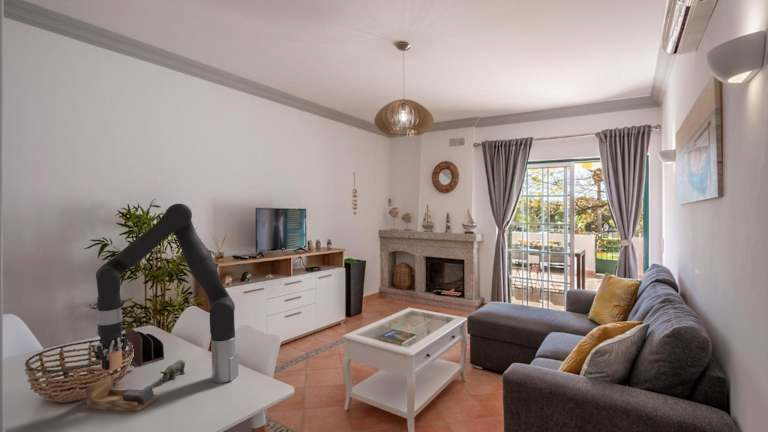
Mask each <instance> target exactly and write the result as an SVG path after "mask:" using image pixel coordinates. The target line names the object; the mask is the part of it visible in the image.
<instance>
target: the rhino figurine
mask: <svg viewBox="0 0 768 432" xmlns="http://www.w3.org/2000/svg"><path fill="white" fill-rule="evenodd" d="M185 366H186V363H185V361H184V360H183V359H179V360H177V361H176V362H174V363H173V364H169V366H167V367H166V369H164V371H160V374H162V376H161V377H162V378H159V380H160V381H161V382H162V383H166V381H167V380H168V379H171V380H172V381H175V380H176V374H177V373H180V375H184V374H185Z"/></svg>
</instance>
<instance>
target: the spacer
mask: <svg viewBox="0 0 768 432" xmlns="http://www.w3.org/2000/svg"><path fill="white" fill-rule="evenodd" d="M122 352H123V351H113V350H112V352H111V353H110V356H109V363H110V369H109V370H104V371H114V370H115V369H117V368H119V367H121V366H122V359H123V355H122V354H123V353H122ZM105 357H106V353H105ZM102 370H103V369H102V361H101V360H100V371H102Z"/></svg>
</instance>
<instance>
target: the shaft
mask: <svg viewBox="0 0 768 432" xmlns="http://www.w3.org/2000/svg"><path fill="white" fill-rule="evenodd" d="M129 389H130V390H129V391H127V392H126V393H124V394H123V401H131V402H138V403H140V404H145V403H147V402H148V401H149V400H151V399H152V398H153V395H154V394H153V395H152V391H153V386H152V385H147V386H146V387H144V388H143V389H135V390H134V388H133V389H132V388H129Z"/></svg>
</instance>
